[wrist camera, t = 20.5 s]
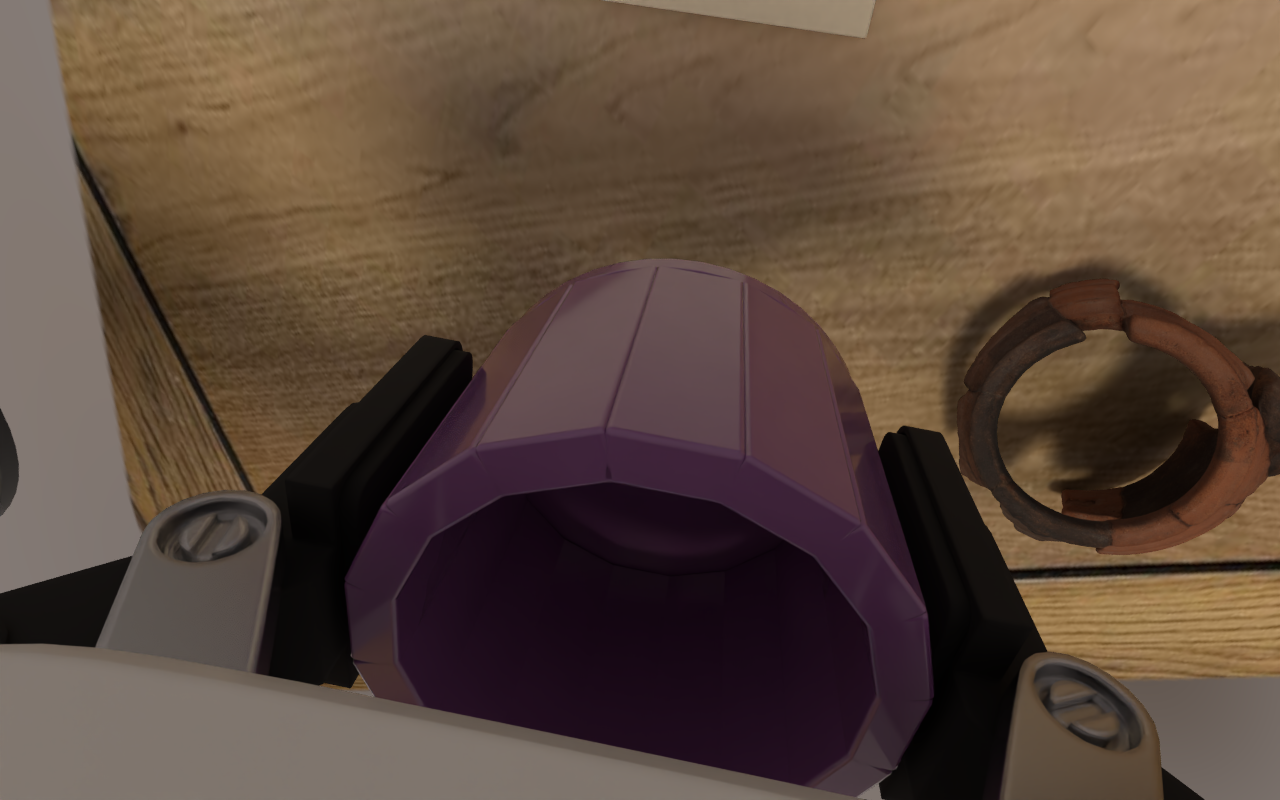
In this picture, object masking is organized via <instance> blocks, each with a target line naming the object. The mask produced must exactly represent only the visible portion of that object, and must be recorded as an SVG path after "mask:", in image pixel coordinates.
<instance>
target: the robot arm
mask: <svg viewBox="0 0 1280 800" xmlns="http://www.w3.org/2000/svg"><path fill="white" fill-rule="evenodd" d="M472 368H473V360H472V354H471V353H470V352H465V351H463V349H462V345H461V343H460V342H459V341H454V340H448V339H443V338H438V337H433V336H427V335H424V336H423V337H421V338H420V339H419V340H418V341H417V342H416V343H415V344H414V345H413V346H412V348H411V349H410V350H409V351H408V352H407V353H406V354H405V355H404V356H403V357H402V358H401V359H400V360H399V361H398V362H397V363H396V364H395V365H394V366H393V367H392V368H391V369H390V370H389V371H388V373H387V374H386V375H385V376H384V377H383V378H382V379H381V380H380V381H379V382H378V383H377V384H376V385H375V386H374V387H373V388H372V389H371V390H370V391H369V392H368V393H367V394H366V395H365V396H364V397H363V399H362V400H361V401H360V402H358V403H352V404H351V405H350V406H348V407H347V408H346V409H345V410H344V411H343V412H342V413H341V414H340V415H339V416H338V417H337V418H336V419H335V420H334V421H333V422H332V423H331V424H330V425H329V426H328V427H327V428H326V429H325V430H324V431H323V432H322V433H321V434H320V435H319V436H318V437H317V438H316V439H315V440H314V441H313V442H312V443H311V444H310V446H309V447H308V448H307V449H306V450H305V451H304V452H303V453H302V454H301V455H300V456H299V457H298V458H297V459H296V460H295V461H294V462H293V463H292V464H291V465H290V466H289V467H288V468H287V469H286V470H285V471H284V472H283V473H282V474H281V475H280V476H279V477H278V478H277V479H276V480H275V481H274V482H273V483H272V484H271V485H270V486H269V487H268V488H267V489H266V490H265V491H264V493H263V494H262V495H261V494H257V493H253V492H249V491H245V490H222V491H215V492H208V493H203V494H200V495H196V496H193V497H190V498H187V499H184V500H182V501H180V502H178V503H176V504H174V505H172V506H170V507H168V508H166V509H165V510H163V511H162V512H161V513H160V514H158V515H157V516H156V517H155V518H154V519H152V520H151V521H150V523H149V524H148V526H147V527H146V529H145V530H144V531H143V533H142V535H141V537H140V540H139V542H138V545H137V547H136V549H135V552H134V554H133V556H130V557H127V558H123V559H120V560H116V561H113V562H109V563H106V564H102V565H99V566H95V567H92V568H88V569H84V570H81V571H78V572H74V573H70V574H67V575H63V576H60V577H56V578H53V579H49V580H46V581H42V582H39V583H35V584H32V585H28V586H25V587H22V588H18V589H15V590H11V591H8V592H4V593H0V800H866V799H861V798H856V797H852V796H847V795H842V794H838V793H833V792H828V791H824V790H819V789H814V788H810V787H805V786H800V785H796V784H791V783H786V782H782V781H777V780H772V779H768V778H763V777H758V776H754V775H749V774H744V773H739V772H735V771H730V770H725V769H720V768H716V767H711V766H706V765H701V764H697V763H692V762H687V761H682V760H677V759H673V758H668V757H663V756H658V755H654V754H649V753H644V752H639V751H634V750H630V749H625V748H620V747H615V746H611V745H606V744H601V743H596V742H591V741H586V740H582V739H577V738H572V737H567V736H562V735H558V734H553V733H548V732H543V731H538V730H534V729H529V728H524V727H519V726H514V725H509V724H505V723H500V722H495V721H490V720H485V719H480V718H475V717H470V716H465V715H460V714H455V713H451V712H446V711H441V710H436V709H431V708H426V707H421V706H416V705H411V704H406V703H401V702H396V701H391V700H386V699H382V698H377V697H371V696H367V695H362V694H357V693H352V692H347V691H342V690H337V689H332V688H327V687H322V686H319V685H321V684H323V683H328V684H333V685H337V686H342V687H347V688H351V687H352V685H353V684H354V682H355V680H356V678H357V676H358V675H359V672H358V671H357V669H356V667H355V666H354V664H353V658H352V657H351V653H350V642H349V632H348V622H347V611H346V601H345V590H344V583H345V575H346V573H347V571H348V569H349V567H350V565H351V563H352V561H353V559H354V557H355V555H356V553H357V551H358V549H359V547H360V545H361V543H362V542H363V540H364V538H365V536H366V534H367V532H368V530H369V528H370V526H371V524H372V522H373V520H374V518H375V516H376V514H377V512H378V510H379V508H380V507H381V505H382V504H383V502H384V501H385V499H386V498H387V497H388V495H389V494H390V493H391V491H392V490H393V488H394V487H395V486H396V484H397V483H398V481H399V480H400V479H401V477H402V476H403V474H404V473H405V472H406V470H407V469H408V467H409V466H410V465H411V463H412V462H413V460H414V459H415V458H416V456H417V455H418V454H419V452H420V451H421V449H422V448H423V447H424V445H425V444H426V442H427V441H428V440H429V438H430V437H431V435H432V434H433V433H434V431H435V430H436V428H437V427H438V426H439V424H440V423H441V422H442V420H443V419H444V417H445V416H446V415H447V413H448V412H449V410H450V409H451V408H452V406H453V405H454V403H455V402H456V401H457V399H458V398H459V396H460V395H461V394H462V392H463V391H464V389H465V388H466V387H467V385H468V384H469V383H470V381H471V380H472ZM878 453H879V456H880V459H881V462H882V466H883V469H884V472H885V475H886V478H887V482H888V485H889V488H890V491H891V495H892V498H893V501H894V504H895V508H896V511H897V514H898V517H899V521H900V524H901V527H902V530H903V533H904V537H905V540H906V543H907V546H908V550H909V553H910V556H911V559H912V563H913V566H914V569H915V572H916V576H917V579H918V582H919V585H920V588H921V592H922V595H923V598H924V601H925V605H926V608H927V611H928V614H929V626H930V639H931V651H932V664H933V677H934V690H935V694H934V697H933V699H932V701H933V702H932V706H931V708H930V710H929V712H928V713H927V715H926V717H925V719H924V720H923V722H922V724H921V726H920V728H919V729H918V731H917V733H916V735H915V737H914V738H913V740H912V742H911V744H910V745H909V747H908V749H907V751H906V753H905V754H904V756H903V758H902V760H901V762H900V763H899V765H898V767H897V769H895V770H892V773H891V775H890V776H888V777H887V778H885V779H884V780H883V781H881V782H880V783H879V787H880V793H881V798H882V799H885V800H1204V799H1203V798H1202V797H1200V796H1199V795H1198V794H1197V793H1195V792H1194V791H1192V790H1191V789H1190V788H1189V787H1187V786H1186V785H1185V784H1183V783H1182V782H1180V781H1179V780H1178V779H1177V778H1175V777H1174V776H1173V775H1171V774H1170V773H1169V772H1167V771H1166V770H1165V769H1163V768H1162V767H1161V756H1160V741H1159V737H1158V733H1157V730H1156V726H1155V724H1154V721H1153V720H1152V718H1151V717H1150V715H1149V713H1148V712H1147V710H1146V709H1145V707H1144V706H1143V704H1142V703H1141V702H1140V701H1139V700H1138V699H1137V698H1136V697H1135V696H1134V695H1133V694H1132V693H1131V692H1130V691H1129V689H1127V688H1126V687H1125V686H1124V685H1123V684H1121V683H1120V682H1119V681H1117V680H1116V679H1115V678H1114V677H1112V676H1111V675H1110V674H1108V673H1107V672H1105V671H1103V670H1101V669H1100V668H1098V667H1096V666H1094V665H1093V664H1091V663H1089V662H1087V661H1084V660H1081V659H1079V658H1076V657H1074V656H1071V655H1068V654H1062V653H1056V652H1047V650H1046V647H1045V645H1044V643H1043V641H1042V639H1041V637H1040V635H1039V633H1038V631H1037V628H1036V626H1035V624H1034V622H1033V620H1032V618H1031V616H1030V614H1029V612H1028V609H1027V607H1026V605H1025V603H1024V601H1023V599H1022V597H1021V595H1020V593H1019V590H1018V588H1017V586H1016V584H1015V582H1014V580H1013V578H1012V576H1011V574H1010V571H1009V569H1008V567H1007V565H1006V563H1005V561H1004V559H1003V557H1002V555H1001V552H1000V550H999V548H998V546H997V544H996V542H995V540H994V538H993V536H992V533H991V532H990V530H989V529H988V528H987V526H986V525H985V524H984V522H983V520H982V518H981V516H980V514H979V511H978V509H977V507H976V505H975V503H974V501H973V499H972V496H971V494H970V492H969V490H968V488H967V486H966V484H965V482H964V479H963V477H962V475H961V473H960V471H959V469H958V467H957V464H956V462H955V460H954V458H953V456H952V454H951V452H950V450H949V447H948V445H947V443H946V441H945V439H944V437H943V435H942V434H941V433H939V432H935V431H930V430H924V429H919V428H914V427H908V426H902V427H901V428H900V429H899V430H898V431H897V433H892V432H888V433H887V434H886V435H885V436H884V438H883V441H882V443H881V446H880V448H879V451H878Z"/></svg>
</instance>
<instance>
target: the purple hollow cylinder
mask: <svg viewBox="0 0 1280 800" xmlns="http://www.w3.org/2000/svg"><path fill="white" fill-rule="evenodd" d="M344 590H345V601H346V611H347V622H348V632H349V642H350V653H351V657H352V658H353V664H354V666H355V667H356V669H357V671H358V672H359V674H360V675H361V677H362V679H363V680H364V682H365V683H366V685H367V687H368V688H369V690H370V692H371V693H372V695H373V696H374V697H377V698H382V699H386V700H391V701H396V702H401V703H406V704H411V705H416V706H421V707H426V708H431V709H436V710H441V711H446V712H451V713H455V714H460V715H465V716H470V717H475V718H480V719H485V720H490V721H495V722H500V723H505V724H509V725H514V726H519V727H524V728H529V729H534V730H538V731H543V732H548V733H553V734H558V735H562V736H567V737H572V738H577V739H582V740H586V741H591V742H596V743H601V744H606V745H611V746H615V747H620V748H625V749H630V750H634V751H639V752H644V753H649V754H654V755H658V756H663V757H668V758H673V759H677V760H682V761H687V762H692V763H697V764H701V765H706V766H711V767H716V768H720V769H725V770H730V771H735V772H739V773H744V774H749V775H754V776H758V777H763V778H768V779H772V780H777V781H782V782H786V783H791V784H796V785H800V786H805V787H810V788H814V789H819V790H824V791H828V792H833V793H838V794H842V795H847V796H852V797H856V798H857V797H859V796H860V795H862V794H863V793H865V792H866V791H868V790H869V789H871V788H872V787H874V786H875V785H877V784H878V783H880V782H881V781H883V780H884V779H885V778H887V777H888V776H890V775H891V773H892V770H895V769H897V767H898V765H899V763H900V762H901V760H902V758H903V756H904V754H905V753H906V751H907V749H908V747H909V745H910V744H911V742H912V740H913V738H914V737H915V735H916V733H917V731H918V729H919V728H920V726H921V724H922V722H923V720H924V719H925V717H926V715H927V713H928V712H929V710H930V708H931V706H932V702H933V701H932V699H933V697H934V694H935V690H934V677H933V664H932V651H931V639H930V626H929V614H928V611H927V608H926V605H925V601H924V598H923V595H922V592H921V588H920V585H919V582H918V579H917V576H916V572H915V569H914V566H913V563H912V559H911V556H910V553H909V550H908V546H907V543H906V540H905V537H904V533H903V530H902V527H901V524H900V521H899V517H898V514H897V511H896V508H895V504H894V501H893V498H892V495H891V491H890V488H889V485H888V482H887V478H886V475H885V472H884V469H883V466H882V462H881V459H880V456H879V453H878V449H877V446H876V443H875V440H874V436H873V433H872V430H871V427H870V423H869V420H868V417H867V414H866V411H865V407H864V404H863V401H862V398H861V395H860V392H859V389H858V388H857V386H856V384H855V383H854V381H853V380H852V378H851V376H850V373H849V370H848V368H847V366H846V364H845V362H844V360H843V359H842V357H841V355H840V353H839V351H838V350H837V348H836V346H835V345H834V344H833V342H832V341H831V340H830V338H829V337H828V336H827V334H826V333H825V332H824V331H823V329H822V328H821V327H820V326H819V325H818V324H817V323H816V322H815V321H814V320H813V319H812V318H811V317H810V316H809V315H808V314H807V313H806V312H805V311H804V310H803V309H802V308H801V307H799V306H798V305H797V304H795V303H794V302H793V301H791V300H790V299H789V298H787V297H786V296H784V295H783V294H782V293H780V292H779V291H777V290H775V289H773V288H771V287H770V286H768V285H766V284H764V283H762V282H760V281H759V280H757V279H755V278H752V277H750V276H747V275H744V274H742V273H739V272H737V271H734V270H732V269H729V268H725V267H721V266H717V265H713V264H709V263H705V262H699V261H690V260H682V259H642V260H635V261H627V262H620V263H616V264H612V265H609V266H605V267H602V268H598V269H594V270H592V271H589V272H587V273H585V274H582V275H580V276H578V277H575V278H573V279H571V280H569V281H567V282H565V283H564V284H562V285H560V286H559V287H557V288H555V289H554V290H552V291H550V292H549V293H547V294H546V295H545V296H544V297H542V298H541V299H540V300H539V301H538V302H536V303H535V304H534V305H533V306H532V307H530V308H529V309H528V310H527V311H526V313H525V314H524V315H523V316H522V317H521V318H520V319H519V320H518V321H517V322H515V323H514V324H512V326H511V327H510V328H509V329H508V330H507V331H506V332H505V334H504V335H503V337H502V338H501V339H500V341H499V342H498V344H497V345H496V346H495V348H494V349H493V350H492V352H491V353H490V355H489V356H488V357H487V359H486V360H485V362H484V363H483V364H482V366H481V367H480V369H479V370H478V371H477V373H476V374H475V376H474V377H473V378H472V380H471V381H470V383H469V384H468V385H467V387H466V388H465V389H464V391H463V392H462V394H461V395H460V396H459V398H458V399H457V401H456V402H455V403H454V405H453V406H452V408H451V409H450V410H449V412H448V413H447V415H446V416H445V417H444V419H443V420H442V422H441V423H440V424H439V426H438V427H437V428H436V430H435V431H434V433H433V434H432V435H431V437H430V438H429V440H428V441H427V442H426V444H425V445H424V447H423V448H422V449H421V451H420V452H419V454H418V455H417V456H416V458H415V459H414V460H413V462H412V463H411V465H410V466H409V467H408V469H407V470H406V472H405V473H404V474H403V476H402V477H401V479H400V480H399V481H398V483H397V484H396V486H395V487H394V488H393V490H392V491H391V493H390V494H389V495H388V497H387V498H386V499H385V501H384V502H383V504H382V505H381V507H380V508H379V510H378V512H377V514H376V516H375V518H374V520H373V522H372V524H371V526H370V528H369V530H368V532H367V534H366V536H365V538H364V540H363V542H362V543H361V545H360V547H359V549H358V551H357V553H356V555H355V557H354V559H353V561H352V563H351V565H350V567H349V569H348V571H347V573H346V575H345V583H344Z"/></svg>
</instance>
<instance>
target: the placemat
mask: <svg viewBox="0 0 1280 800" xmlns="http://www.w3.org/2000/svg"><path fill="white" fill-rule="evenodd" d="M603 1H609V2H616V3H623V4H630V5H637V6H644V7H651V8H658V9H664V10H671V11H678V12H685V13H692V14H699V15H706V16H713V17H719V18H726V19H733V20H740V21H747V22H754V23H761V24H768V25H774V26H781V27H788V28H795V29H802V30H809V31H816V32H823V33H829V34H836V35H843V36H850V37H857V38H864V39H865V38H866V37H867V34H868V30H869V26H870V22H871V18H872V14H873V10H874V6H875V2H876V0H603Z"/></svg>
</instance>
